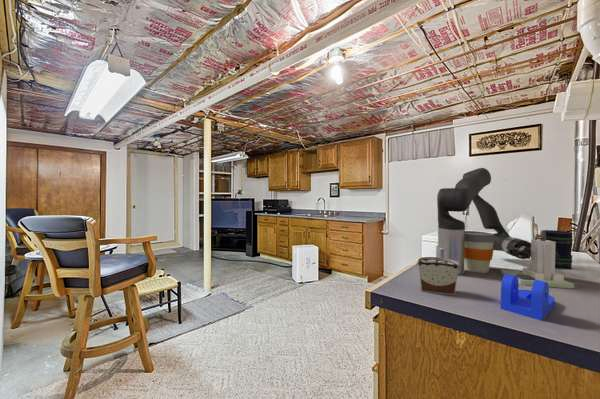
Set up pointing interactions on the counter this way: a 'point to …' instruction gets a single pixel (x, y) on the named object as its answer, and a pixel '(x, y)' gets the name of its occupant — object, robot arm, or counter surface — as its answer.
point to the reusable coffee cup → (478, 251)
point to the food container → (438, 274)
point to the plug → (543, 256)
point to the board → (538, 278)
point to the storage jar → (561, 247)
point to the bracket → (526, 298)
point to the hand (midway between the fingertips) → (543, 256)
